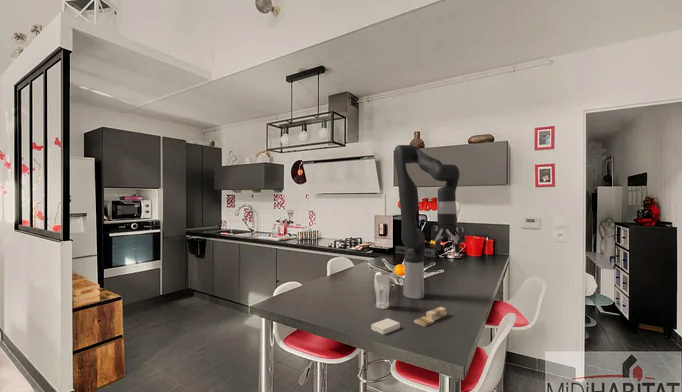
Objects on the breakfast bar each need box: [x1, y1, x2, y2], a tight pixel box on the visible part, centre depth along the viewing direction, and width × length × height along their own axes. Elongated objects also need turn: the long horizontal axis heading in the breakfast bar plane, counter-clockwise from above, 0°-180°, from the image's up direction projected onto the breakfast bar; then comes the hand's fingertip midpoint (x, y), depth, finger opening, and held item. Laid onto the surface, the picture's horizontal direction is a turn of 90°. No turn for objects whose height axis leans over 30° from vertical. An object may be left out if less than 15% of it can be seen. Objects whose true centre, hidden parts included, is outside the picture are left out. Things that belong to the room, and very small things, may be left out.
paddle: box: [413, 306, 447, 327], centre depth 123 cm, size 16×5×3 cm, turn 128°
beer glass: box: [373, 271, 391, 310], centre depth 139 cm, size 7×7×15 cm
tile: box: [370, 317, 401, 335], centre depth 115 cm, size 6×2×9 cm
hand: (447, 251), depth 128 cm, fingers open, 8 cm apart
